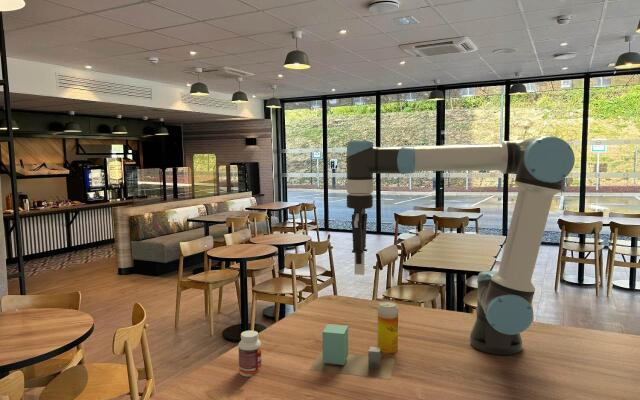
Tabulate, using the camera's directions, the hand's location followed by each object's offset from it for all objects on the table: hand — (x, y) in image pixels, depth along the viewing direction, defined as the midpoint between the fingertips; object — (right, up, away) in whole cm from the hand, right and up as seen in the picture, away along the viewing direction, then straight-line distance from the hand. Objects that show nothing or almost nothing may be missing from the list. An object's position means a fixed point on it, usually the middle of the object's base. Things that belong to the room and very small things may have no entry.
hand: (359, 273), depth 138 cm
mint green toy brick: (-7, -23, -6) cm, 25 cm away
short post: (+3, -24, -9) cm, 26 cm away
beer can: (+9, -24, +3) cm, 26 cm away
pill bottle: (-31, -26, -9) cm, 41 cm away
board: (-2, -25, -7) cm, 26 cm away
